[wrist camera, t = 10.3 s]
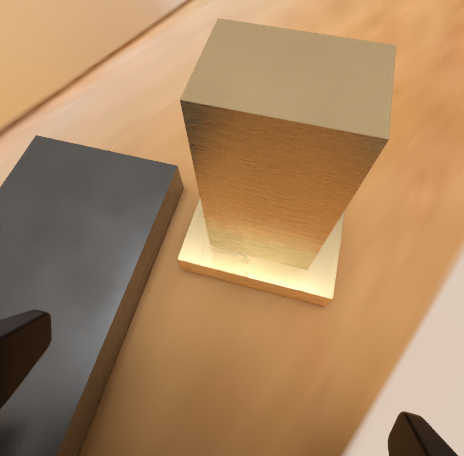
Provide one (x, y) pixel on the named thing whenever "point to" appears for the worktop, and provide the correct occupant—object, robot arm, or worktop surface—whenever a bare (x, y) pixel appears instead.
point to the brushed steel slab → (75, 277)
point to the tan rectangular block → (281, 152)
